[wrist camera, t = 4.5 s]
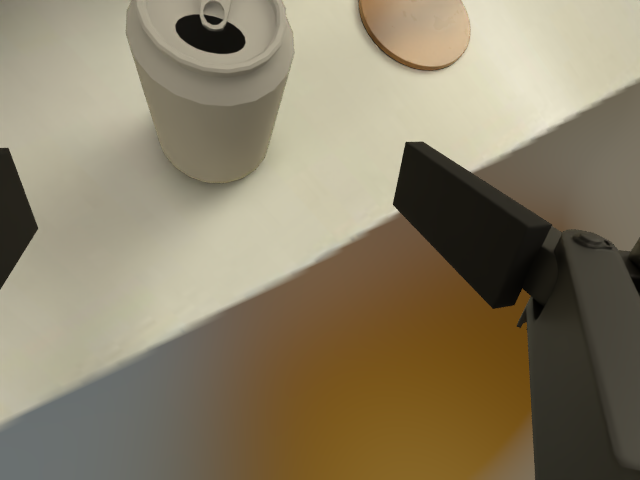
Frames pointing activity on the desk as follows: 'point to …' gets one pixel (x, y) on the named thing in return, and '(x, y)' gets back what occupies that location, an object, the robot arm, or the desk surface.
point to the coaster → (418, 30)
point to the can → (212, 79)
